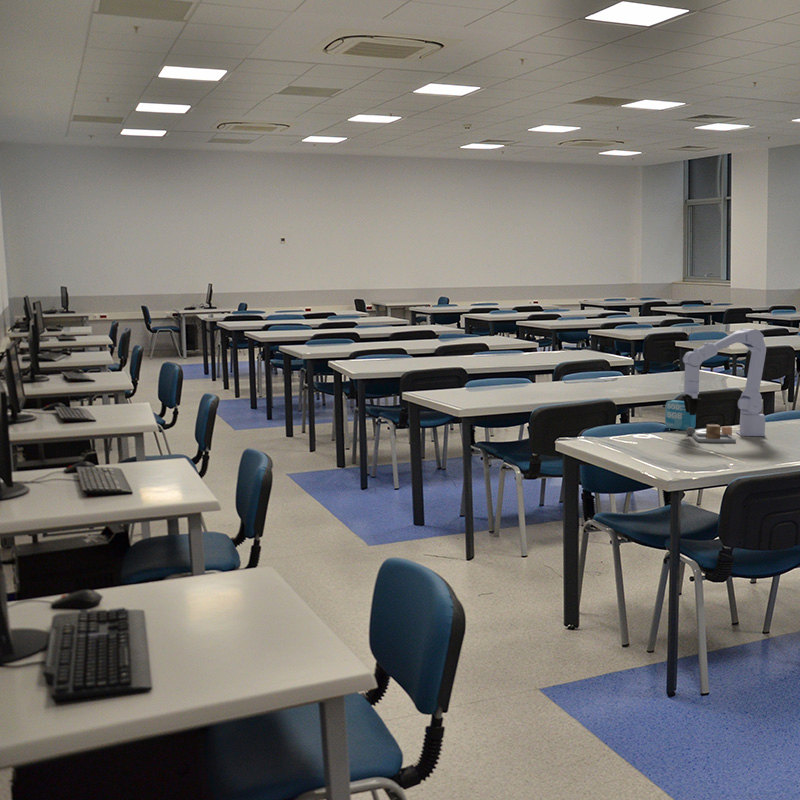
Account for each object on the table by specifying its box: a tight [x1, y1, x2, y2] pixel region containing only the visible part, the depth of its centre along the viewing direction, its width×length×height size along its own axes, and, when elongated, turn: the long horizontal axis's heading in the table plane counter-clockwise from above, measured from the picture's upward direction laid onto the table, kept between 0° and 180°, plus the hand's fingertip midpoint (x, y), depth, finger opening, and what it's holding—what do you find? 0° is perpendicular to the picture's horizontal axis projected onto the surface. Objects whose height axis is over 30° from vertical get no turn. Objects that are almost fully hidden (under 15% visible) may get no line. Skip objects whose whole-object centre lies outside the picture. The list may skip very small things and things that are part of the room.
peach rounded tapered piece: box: [720, 425, 733, 437], centre depth 342 cm, size 4×4×4 cm
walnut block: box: [705, 424, 722, 439], centre depth 334 cm, size 4×4×6 cm
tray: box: [692, 433, 737, 444], centre depth 334 cm, size 14×12×2 cm
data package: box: [664, 399, 697, 431], centre depth 362 cm, size 12×4×12 cm, turn 46°
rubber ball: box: [685, 427, 696, 436], centre depth 346 cm, size 4×4×4 cm
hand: (690, 413), depth 342 cm, fingers open, 7 cm apart
